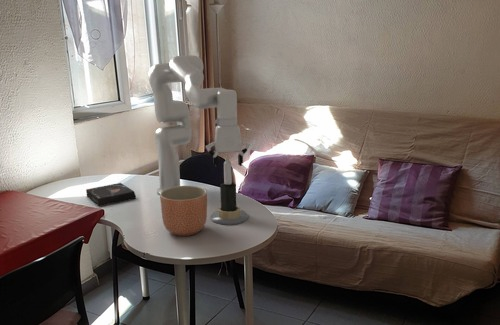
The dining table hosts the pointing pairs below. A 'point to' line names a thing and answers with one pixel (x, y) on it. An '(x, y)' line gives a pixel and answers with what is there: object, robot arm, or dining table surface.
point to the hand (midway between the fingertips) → (228, 165)
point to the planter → (184, 209)
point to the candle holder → (229, 216)
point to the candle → (228, 189)
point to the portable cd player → (110, 194)
